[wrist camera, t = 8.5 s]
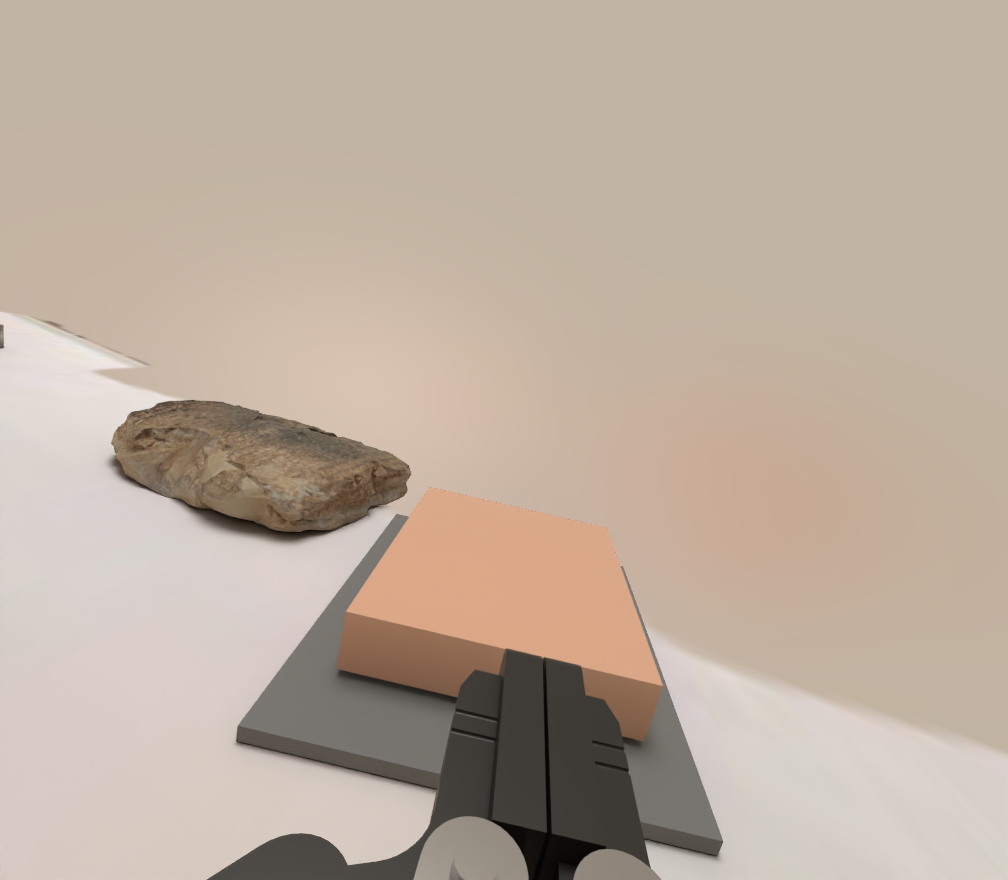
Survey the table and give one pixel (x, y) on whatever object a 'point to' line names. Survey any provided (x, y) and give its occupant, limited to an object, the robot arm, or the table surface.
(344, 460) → the clay tablet
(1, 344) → the grey square tray
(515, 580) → the terracotta tile
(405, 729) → the rubber mat
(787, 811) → the table surface
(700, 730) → the table surface
